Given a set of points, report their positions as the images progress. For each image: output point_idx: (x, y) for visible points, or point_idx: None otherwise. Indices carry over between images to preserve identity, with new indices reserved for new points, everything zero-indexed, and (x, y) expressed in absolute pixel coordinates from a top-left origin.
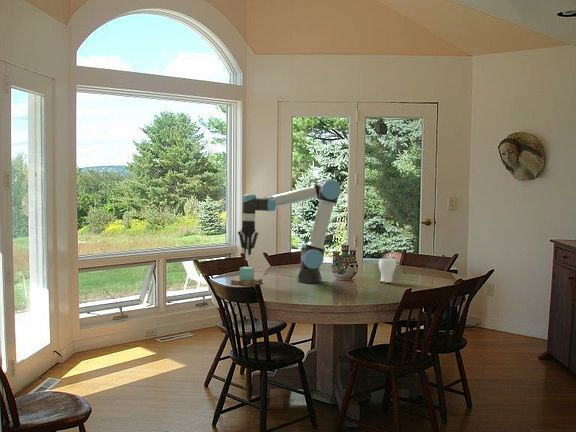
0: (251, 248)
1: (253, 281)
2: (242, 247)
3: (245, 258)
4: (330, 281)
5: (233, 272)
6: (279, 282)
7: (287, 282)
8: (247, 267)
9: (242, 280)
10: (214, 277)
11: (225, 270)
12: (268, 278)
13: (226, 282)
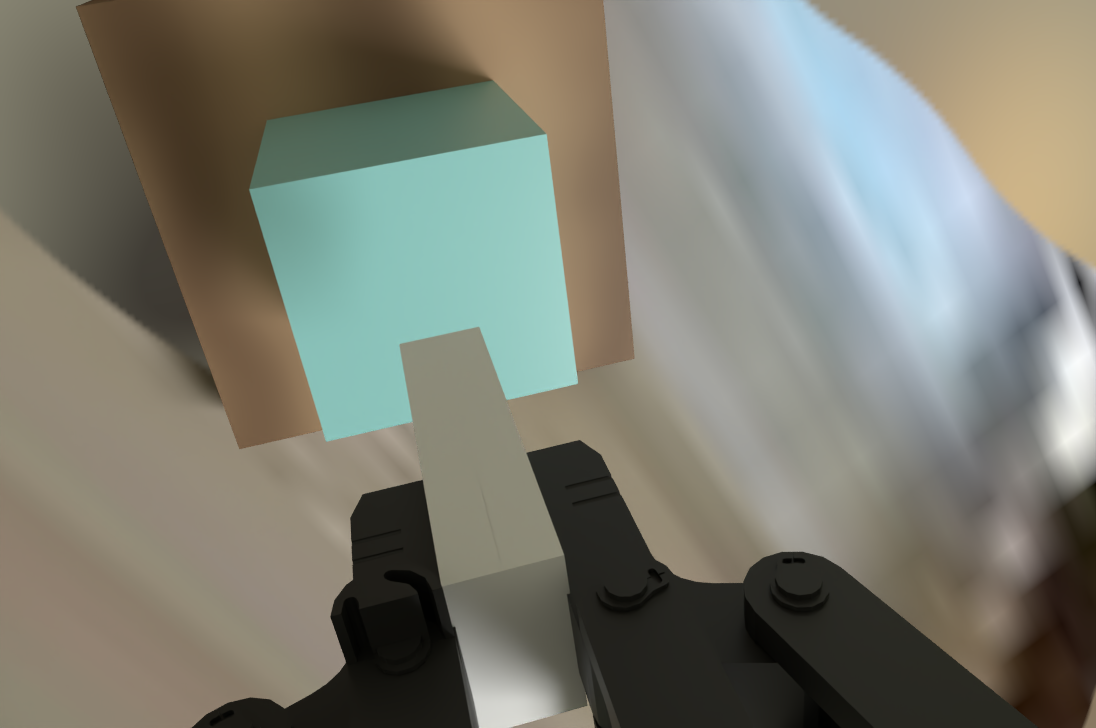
0: (293, 711)
1: (144, 102)
2: (767, 561)
3: (486, 349)
4: None
5: None
6: (92, 620)
7: (8, 695)
8: None
9: (394, 50)
10: (1053, 291)
11: (1077, 706)
12: None
13: (735, 47)
